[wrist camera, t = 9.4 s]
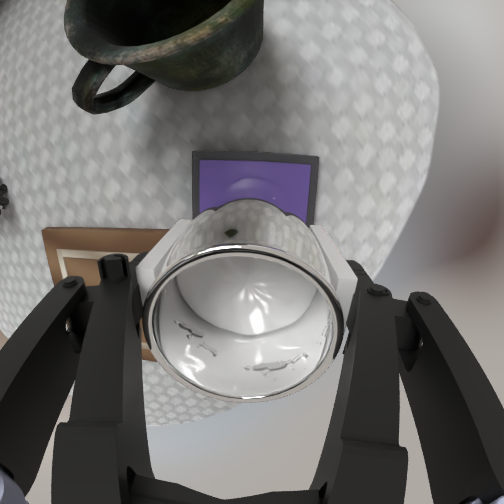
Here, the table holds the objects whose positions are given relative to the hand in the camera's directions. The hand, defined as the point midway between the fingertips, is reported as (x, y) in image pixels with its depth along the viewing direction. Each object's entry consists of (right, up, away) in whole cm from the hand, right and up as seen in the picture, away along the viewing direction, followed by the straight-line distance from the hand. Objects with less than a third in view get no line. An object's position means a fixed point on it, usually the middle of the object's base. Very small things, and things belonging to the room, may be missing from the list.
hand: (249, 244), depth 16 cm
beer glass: (0, +3, +6) cm, 7 cm away
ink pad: (0, +3, +7) cm, 8 cm away
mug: (-5, +16, +2) cm, 17 cm away
